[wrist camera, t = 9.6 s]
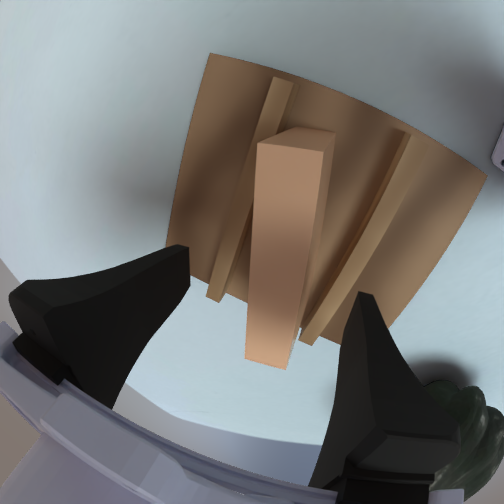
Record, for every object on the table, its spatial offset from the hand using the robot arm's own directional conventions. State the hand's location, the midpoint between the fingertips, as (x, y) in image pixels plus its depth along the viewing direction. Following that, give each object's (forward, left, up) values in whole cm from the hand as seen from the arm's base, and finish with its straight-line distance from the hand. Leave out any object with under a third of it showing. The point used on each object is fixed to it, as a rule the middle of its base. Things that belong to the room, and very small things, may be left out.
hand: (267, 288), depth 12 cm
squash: (-22, +13, -11) cm, 28 cm away
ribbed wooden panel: (0, +1, -10) cm, 10 cm away
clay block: (0, +1, -9) cm, 9 cm away
